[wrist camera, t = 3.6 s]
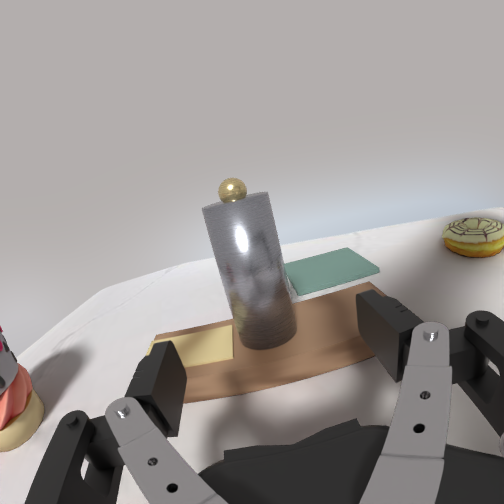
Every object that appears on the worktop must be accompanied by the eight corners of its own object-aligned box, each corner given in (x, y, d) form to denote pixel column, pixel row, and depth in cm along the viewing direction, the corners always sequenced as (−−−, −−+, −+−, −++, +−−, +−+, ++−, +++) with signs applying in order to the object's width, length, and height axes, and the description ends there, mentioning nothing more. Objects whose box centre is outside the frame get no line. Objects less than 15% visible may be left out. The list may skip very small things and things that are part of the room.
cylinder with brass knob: (290, 312, 25) (259, 171, 22) (303, 340, 21) (266, 169, 17) (239, 325, 25) (199, 186, 22) (241, 355, 21) (191, 188, 17)
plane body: (370, 303, 27) (369, 279, 27) (410, 341, 20) (411, 314, 19) (165, 354, 27) (155, 333, 27) (148, 407, 20) (134, 383, 19)
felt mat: (347, 250, 44) (347, 247, 44) (379, 272, 34) (379, 267, 34) (282, 268, 44) (282, 264, 44) (298, 295, 34) (297, 291, 34)
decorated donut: (463, 233, 38) (462, 211, 37) (514, 243, 28) (515, 219, 27) (431, 251, 35) (430, 226, 34) (491, 267, 25) (492, 237, 24)
